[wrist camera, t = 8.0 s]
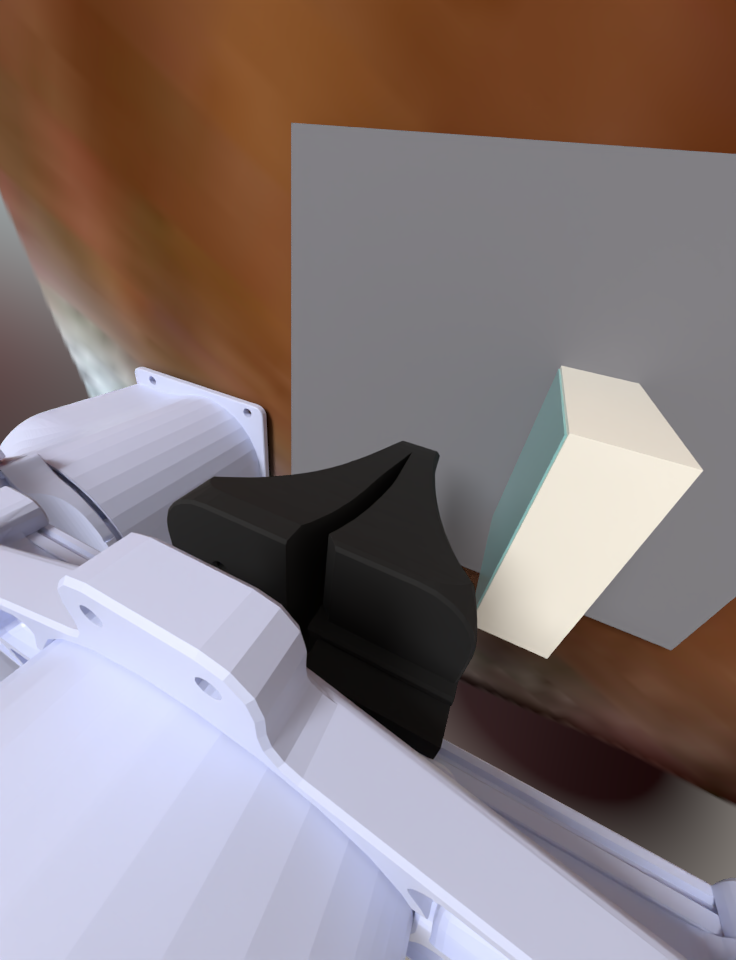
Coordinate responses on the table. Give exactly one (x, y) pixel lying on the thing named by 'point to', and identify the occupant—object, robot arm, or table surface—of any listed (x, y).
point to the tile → (577, 506)
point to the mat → (519, 325)
